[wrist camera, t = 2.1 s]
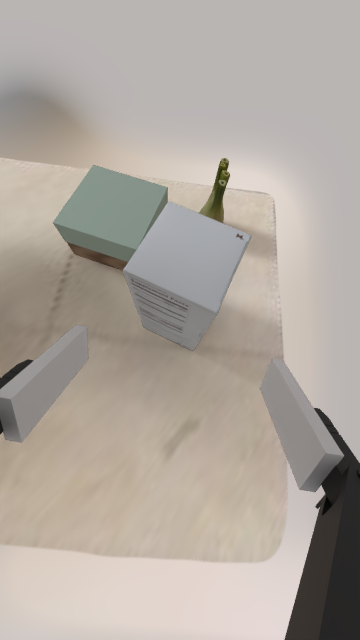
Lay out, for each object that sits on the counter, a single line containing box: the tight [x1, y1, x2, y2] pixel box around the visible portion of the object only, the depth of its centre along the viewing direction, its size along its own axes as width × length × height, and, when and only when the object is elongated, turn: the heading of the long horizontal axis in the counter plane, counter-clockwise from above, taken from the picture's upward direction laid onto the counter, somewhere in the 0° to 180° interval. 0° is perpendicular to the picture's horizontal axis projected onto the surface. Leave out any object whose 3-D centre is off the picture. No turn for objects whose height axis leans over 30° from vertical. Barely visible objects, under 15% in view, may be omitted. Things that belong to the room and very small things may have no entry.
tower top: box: [53, 165, 168, 262], centre depth 34 cm, size 13×13×4 cm
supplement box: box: [123, 202, 252, 351], centre depth 27 cm, size 10×9×17 cm
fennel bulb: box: [199, 158, 230, 223], centre depth 35 cm, size 6×5×12 cm
